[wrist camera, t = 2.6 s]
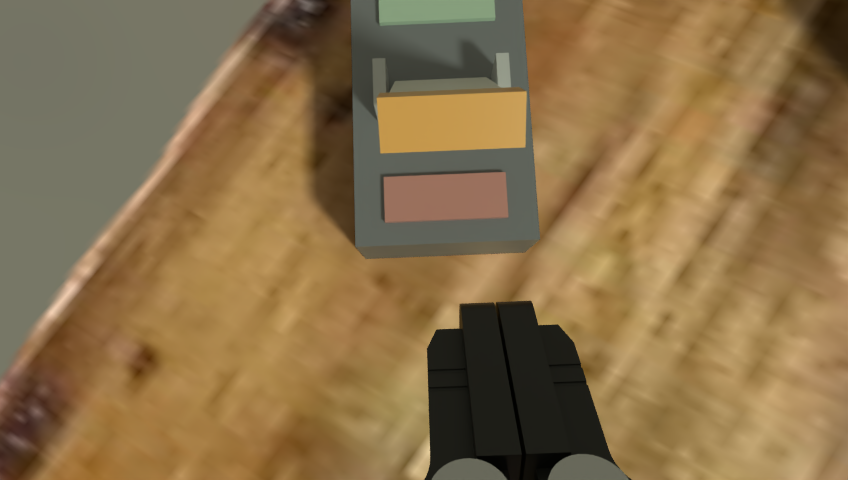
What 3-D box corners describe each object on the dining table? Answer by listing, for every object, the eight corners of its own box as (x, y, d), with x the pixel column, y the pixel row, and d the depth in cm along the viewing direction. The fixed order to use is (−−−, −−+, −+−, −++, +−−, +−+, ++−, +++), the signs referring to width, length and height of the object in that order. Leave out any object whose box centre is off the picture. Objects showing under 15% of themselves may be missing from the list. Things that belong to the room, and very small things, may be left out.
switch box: (360, 15, 45) (343, -62, 36) (507, 9, 45) (526, -70, 36) (366, 258, 42) (348, 239, 33) (524, 252, 42) (549, 231, 33)
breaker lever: (391, 74, 37) (376, 97, 24) (488, 70, 37) (526, 91, 24) (394, 110, 38) (380, 153, 25) (488, 106, 38) (525, 147, 24)
